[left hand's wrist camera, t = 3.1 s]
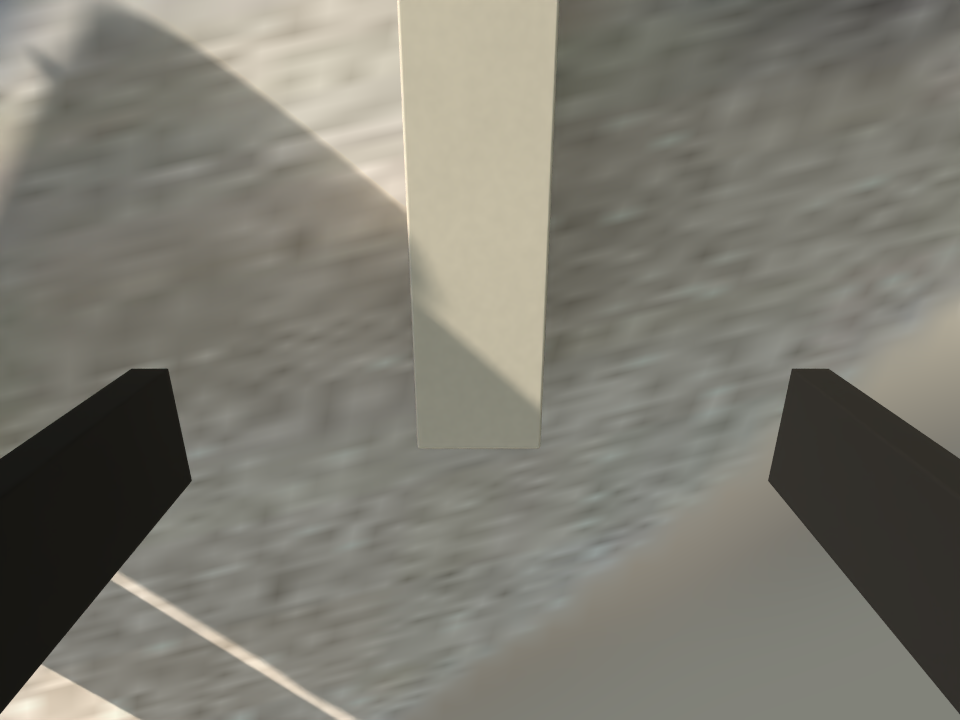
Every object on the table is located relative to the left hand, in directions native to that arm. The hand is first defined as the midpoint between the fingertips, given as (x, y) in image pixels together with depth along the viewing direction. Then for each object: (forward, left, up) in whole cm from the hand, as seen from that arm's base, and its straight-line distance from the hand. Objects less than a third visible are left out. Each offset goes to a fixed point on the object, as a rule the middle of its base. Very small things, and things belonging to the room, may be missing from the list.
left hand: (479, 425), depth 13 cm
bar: (+2, +24, -15) cm, 28 cm away
